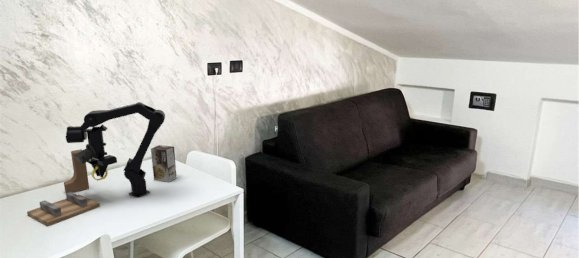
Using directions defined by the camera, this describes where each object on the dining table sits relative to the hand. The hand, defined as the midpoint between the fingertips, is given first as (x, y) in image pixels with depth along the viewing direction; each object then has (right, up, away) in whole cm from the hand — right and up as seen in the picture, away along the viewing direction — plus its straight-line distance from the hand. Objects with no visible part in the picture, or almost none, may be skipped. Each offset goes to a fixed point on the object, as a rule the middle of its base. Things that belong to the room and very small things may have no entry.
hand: (100, 176), depth 162 cm
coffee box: (+20, -4, +23) cm, 31 cm away
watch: (0, -1, 0) cm, 2 cm away
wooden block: (-15, -7, +10) cm, 20 cm away
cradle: (-9, -12, -11) cm, 18 cm away
